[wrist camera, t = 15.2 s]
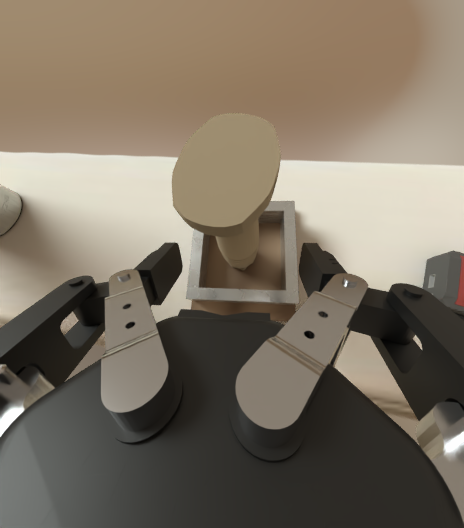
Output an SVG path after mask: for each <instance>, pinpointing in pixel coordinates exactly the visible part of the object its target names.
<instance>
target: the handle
mask: <svg viewBox="0 0 464 528" xmlns="http://www.w3.org/2000/svg"><path fill="white" fill-rule="evenodd" d="M280 158H281V154H280V146H279V142H278V138H277V134H276V131H275V127H274V126H273V125H272V124H271V123H269V122H268V121H266V120H264V119H262V118H260V117H257V116H253V115H248V114H240V113H230V114H229V113H228V114H223V115H218V116H215V117H212V118H211V119H210V120H209V121H207V122H206V123H205V124H204V125H203V126H202V127H201V128H199V129H198V130H197V131H196V132H195V133H194V134H193V135H192V136H191V137H190V138H189V139H188V141H187V143H186V144H185V146H184V147H183V149H182V152H181V154H180V156H179V158H178V160H177V162H176V165H175V168H174V171H173V176H172V194H173V206H174V208H175V209H176V210H177V212H178V213H179V215H180V216H181V217H182V218H183V220H184V221H185V222H186V223H187V224H188V225H189V226H191V227H192V228H194V229H195V230H197V231H199V232H201V233H204V234H207V235H211V236H215V237H216V240H217V243H218V247H219V249H220V251H221V253H222V255H223V257H224V258H225V260H226V261H227V262H228V263H229V264H230V266H231V267H233V268H239V269H241V270H245V269H246V268H247V266H249V265H250V264H253V262H254V260H255V257H256V254H257V251H258V246H259V222H258V218H259V217H260V216H261V214H262V213H263V212H264V211H265V209H266V208H267V207H268V205H269V203H270V200H271V198H272V195H273V191H274V188H275V184H276V181H277V177H278V172H279V167H280Z"/></svg>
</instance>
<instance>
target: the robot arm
mask: <svg viewBox="0 0 464 528" xmlns="http://www.w3.org/2000/svg"><path fill="white" fill-rule="evenodd" d="M21 205H22V203H21V199H20V197H19V195H18V194H17V193H16V192H14V191H12V190H10V189H8V188H6V187H4V186H2V185H0V235H2V234H4V233H5V232H6V231H7V230H9V229H10V228H11V227H12V226H13V224H14V223H15V222H16V220H17V219H18V217H19V214H20V211H21ZM181 272H182V260H181V255H180V250H179V245H178V244H177V243H164V244H163V245H162V246H161V247H160V248H159V249H158V250H156V251H154V252H152V253H151V254H150V255H148V256H147V258H145V259H144V260H143V261H142V262H141V263H140V264H139V265H138V266H137V267H136V268H135V269H130V270H124V271H120V272H118V273H116V274H114V275H113V276H111V277H110V279H109V282H104V283H98V284H95V282H94V279H93V277H91V276H81V277H76V278H73V279H71V280H69V281H67V282H65V283H63V284H62V285H60V286H59V287H58V288H56V289H55V290H53V291H52V292H51V293H49V294H48V295H46V296H45V297H43V298H42V299H41V300H39V301H38V302H36V303H35V304H34V305H32V306H31V307H29V308H28V309H27V310H25V311H24V312H22V313H21V314H19V315H18V316H17V317H15V318H14V319H12V320H11V321H10V322H8V323H7V324H5V325H4V326H2V327H1V328H0V528H464V321H463V320H462V319H461V318H460V317H459V316H457V315H456V314H455V313H454V312H453V311H451V310H450V309H449V308H448V307H447V306H445V305H444V304H443V303H442V302H441V301H439V300H438V299H437V298H436V297H435V296H433V295H432V294H431V293H429V292H428V291H426V290H424V289H422V288H420V287H417V286H413V285H409V284H402V283H398V284H394V285H392V286H391V288H390V290H389V292H386V291H381V290H376V289H371V288H368V284H367V282H366V281H365V280H364V279H362V278H360V277H358V276H355V275H352V274H347V272H346V271H345V270H344V269H343V267H342V266H341V265H340V264H339V262H338V261H337V260H336V259H335V257H334V256H333V255H332V254H330V253H328V252H327V251H322V249H321V248H320V247H319V245H318V244H317V243H304V244H303V246H302V251H301V257H300V264H299V274H300V277H301V280H302V283H303V285H304V288H305V290H306V293H307V295H308V299H307V300H306V301H305V302H304V304H303V305H302V306H301V307H300V308H299V309H298V311H297V312H296V313H295V314H294V315H293V316H292V318H291V319H290V320H289V321H288V322H287V323H286V325H283V324H281V323H279V322H276V321H272V320H271V319H270V313H257V312H244V313H238V314H231V315H219V314H215V313H211V312H207V311H203V310H185V309H181V310H180V312H179V314H178V316H175V317H171V318H168V319H165V320H162V321H160V322H158V323H156V322H155V319H154V316H153V313H152V310H151V305H161V304H162V302H163V301H164V299H165V298H166V296H167V295H168V293H169V291H170V290H171V288H172V287H173V285H174V283H175V282H176V280H177V279H178V277H179V275H180V274H181ZM72 311H73V312H74V314H75V315H76V317H77V319H78V320H79V321H78V322H77V323H76V324H75V325H74V326H73V327H72V328H71V329H70V330H69V331H68V332H67V333H66V334H65V335H63V333H62V332H61V330H60V326H61V323H62V321H63V320H64V319H65V318H66V317H67V316H68V315H69V314H70V313H71V312H72ZM104 331H105V354H103V356H102V358H101V359H100V360H98V361H97V362H95V363H93V364H92V365H90V366H89V367H87V368H86V369H84V370H83V371H81V372H79V373H78V374H76V375H75V376H73V377H72V378H70V379H68V380H67V381H66V382H65V380H66V379H67V378H68V377H69V375H70V374H71V373H72V371H73V370H74V369H75V368H76V366H77V365H78V364H79V362H80V361H81V360H82V359H83V357H84V356H85V355H86V354H87V352H88V351H89V350H90V349H91V347H92V346H93V345H94V344H95V342H96V341H97V340H98V338H99V337H100V336H101V335H102V333H103V332H104ZM351 331H355V332H358V333H362V334H366V335H369V336H371V338H372V340H373V342H374V344H375V345H376V347H377V349H378V351H379V352H380V354H381V356H382V358H383V359H384V361H385V363H386V365H387V366H388V368H389V370H390V372H391V373H392V375H393V377H394V379H395V380H396V382H397V384H398V386H399V387H400V389H401V391H402V393H403V394H404V396H405V398H406V400H407V401H408V403H409V405H410V407H411V408H412V410H413V412H414V413H415V415H416V417H417V419H418V420H419V422H418V424H417V425H416V430H415V431H416V437H417V440H418V442H419V445H420V446H419V445H418V444H417V443H416V442H415V441H414V440H413V439H412V438H411V437H410V436H409V435H408V434H407V433H406V432H405V431H404V430H403V429H402V428H401V427H400V426H399V425H398V424H396V423H395V422H394V421H393V420H392V419H391V418H390V417H389V416H388V415H387V414H385V413H384V412H383V411H382V410H381V409H380V408H379V407H378V406H377V405H375V404H374V403H373V402H372V401H371V400H370V399H369V398H368V397H367V396H366V395H364V394H363V393H362V392H361V391H360V390H359V389H358V388H357V387H356V386H354V385H353V384H352V383H351V382H350V381H349V380H348V379H347V378H346V377H345V376H343V375H342V374H341V373H340V372H339V371H338V370H337V369H336V368H335V364H336V362H337V360H338V357H339V355H340V353H341V351H342V349H343V347H344V345H345V343H346V340H347V338H348V336H349V334H350V332H351ZM415 334H416V336H417V337H418V338H419V339H420V341H421V344H422V350H421V349H420V347H419V346H418V345H417V344H416V342H415V341H414V340H413V337H414V336H415Z"/></svg>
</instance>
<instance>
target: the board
mask: <svg viewBox="0 0 464 528" xmlns="http://www.w3.org/2000/svg"><path fill="white" fill-rule="evenodd" d="M205 288H224V289H253V290H281V249H280V223H259V246H258V251H257V254H256V257H255V260H254V262H253V264H250V265H249V266H247V268H246V269H245V270H241V269H239V268H233V267H231V266H230V264H229V263H228V262H227V261H226V260H225V258H224V257H223V255H222V253H221V251H220V249H219V247H218V243H217V240H216V237H215V236H211V235H210V240H209V251H208V263H207V275H206V287H205ZM191 310H203V311H207V312H211V313H215V314H219V315H231V314H238V313H244V312H257V313H270V319H271V320H272V321H289V320H290V319H291V318H292V316H293V315H294V314H295V313H296V311H295V305H281V304H257V303H233V302H210V301H193V300H192V306H191Z"/></svg>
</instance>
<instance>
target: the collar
mask: <svg viewBox="0 0 464 528" xmlns="http://www.w3.org/2000/svg"><path fill="white" fill-rule="evenodd" d="M258 222H259V223H280V249H281V290H253V289H224V288H205V287H206V275H207V263H208V251H209V240H210V235H207V234H204V233H201V232H199V231H197V230H195V229H194V231H193V240H192V250H191V259H190V268H189V277H188V286H187V295H186V299H189V300H193V301H210V302H233V303H257V304H281V305H295V304H299V291H298V269H297V247H296V224H295V202H294V201H270V203H269V205H268V207H267V208H266V209H265V211H264V212H263V213H262V214H261V216H260V217H259V218H258Z"/></svg>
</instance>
